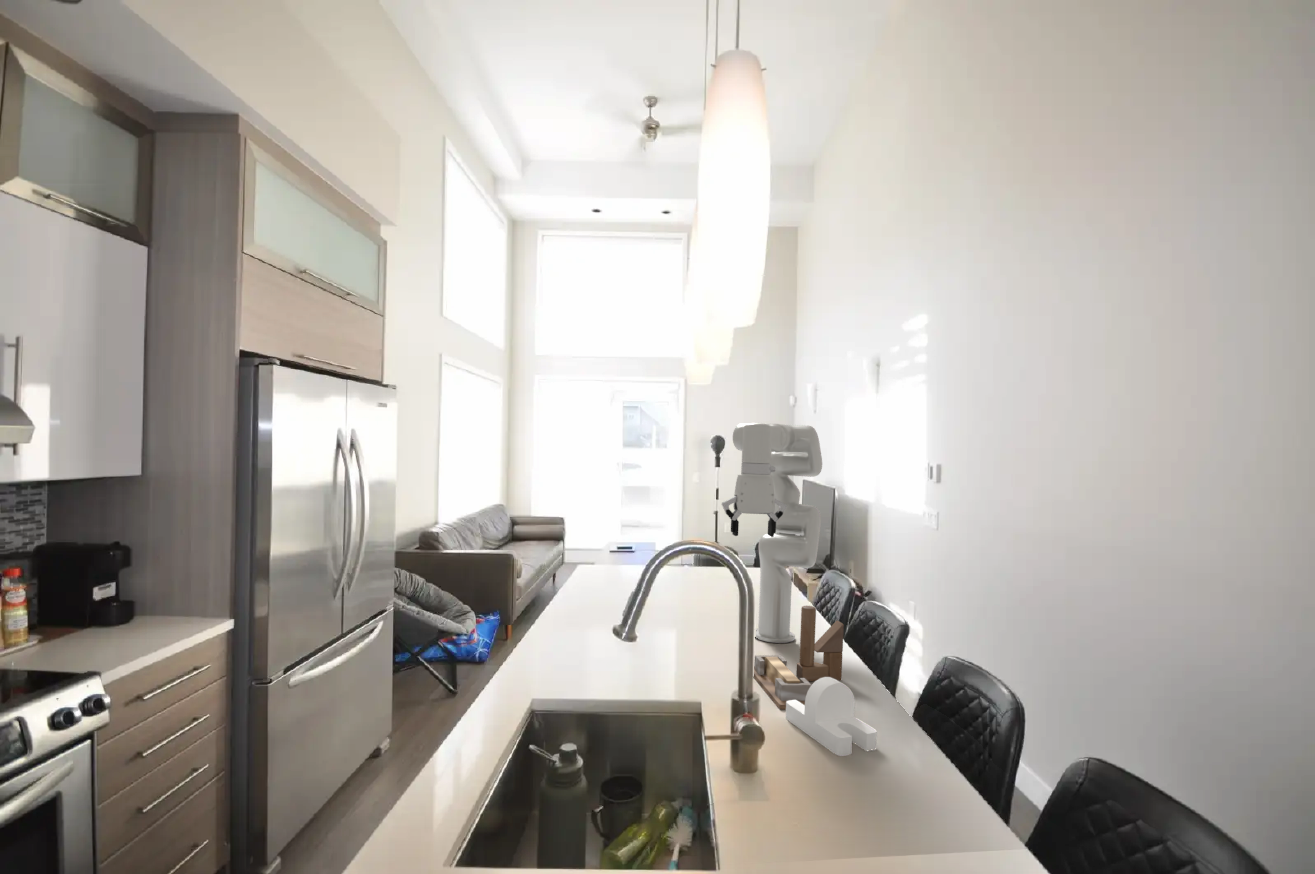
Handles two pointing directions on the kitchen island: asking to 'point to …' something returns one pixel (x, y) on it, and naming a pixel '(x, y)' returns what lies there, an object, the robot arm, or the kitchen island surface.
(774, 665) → the oak slat
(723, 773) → the kitchen island surface
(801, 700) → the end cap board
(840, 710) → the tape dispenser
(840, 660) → the wooden block
